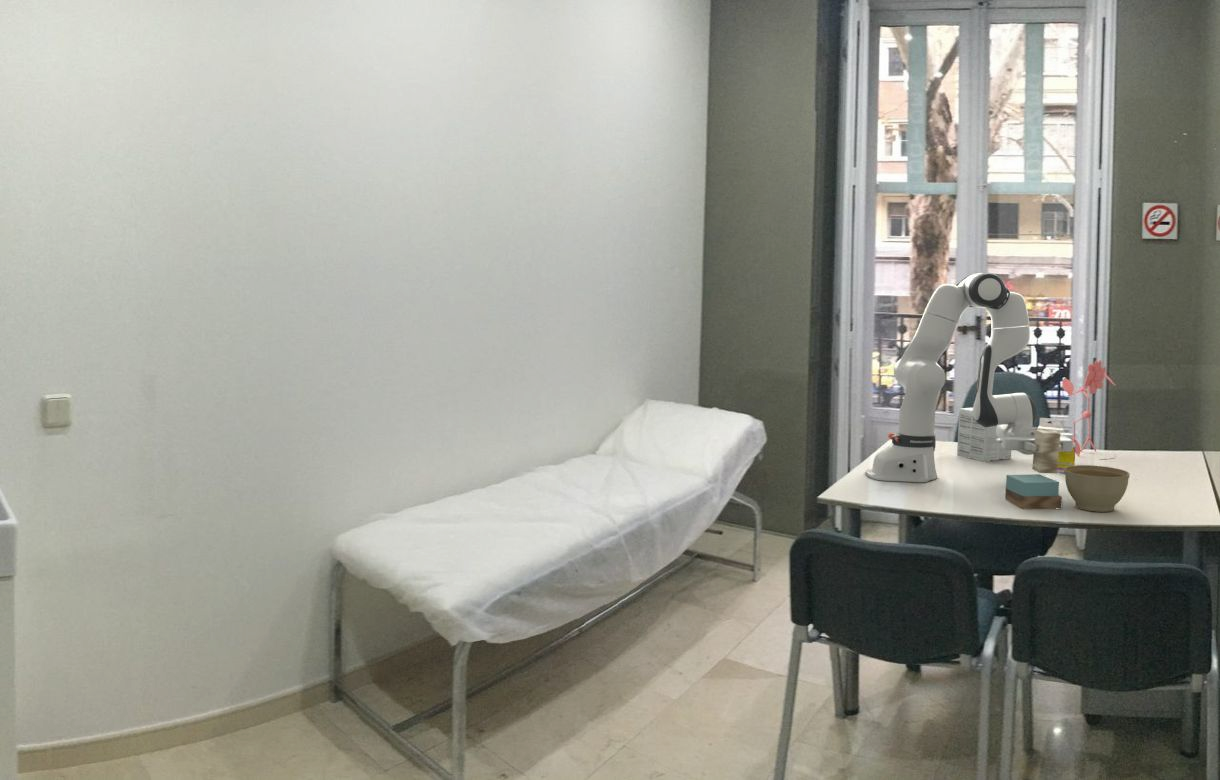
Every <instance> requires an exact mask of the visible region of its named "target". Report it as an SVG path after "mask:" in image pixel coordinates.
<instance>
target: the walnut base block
mask: <svg viewBox="0 0 1220 780" xmlns="http://www.w3.org/2000/svg"><path fill="white" fill-rule="evenodd" d="M1004 498H1005V499H1006V500H1005V501H1007V502H1009V503H1010V504H1012V505H1014V506H1016V507H1017V508H1019V509H1020V510H1057V509H1056V508H1061V509H1062V500H1063V497H1062V496H1060V495H1059V494H1058V496H1031V497H1024V496H1022V495H1019V494H1017V493H1015V492H1013V491H1011V490H1008V489H1006V488H1005V496H1004Z"/></svg>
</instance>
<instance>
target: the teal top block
mask: <svg viewBox="0 0 1220 780" xmlns="http://www.w3.org/2000/svg"><path fill="white" fill-rule="evenodd" d="M1005 477H1006V479H1005V482H1006V483H1005V490H1006V489H1008V490H1011V491H1013V492H1015V493H1017V494H1019V495H1022V496H1024V497H1031V496H1058V495H1059V490H1060V489H1059V488H1060V481H1057V480H1055V479H1053V478H1049V477H1047V476H1045V475H1042V474H1041V473H1038V474H1037V473H1035V474H1033V473H1032V474H1006V475H1005Z"/></svg>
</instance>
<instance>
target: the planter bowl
mask: <svg viewBox="0 0 1220 780" xmlns="http://www.w3.org/2000/svg"><path fill="white" fill-rule="evenodd" d="M1064 472H1065V473H1064V479H1065V485H1066V488H1067V491H1068V493H1069V495H1070V497H1071V498H1072V500H1073V501H1074V502H1075V507H1076V508H1077V509H1080V510H1084V511H1089V512H1097V513H1099V512H1101V513H1102V512H1103V513H1104V512H1105V513H1107V512H1108V513H1109V512H1113V511H1115V508H1116V505H1117V504H1118V503H1119V502H1120V501H1121V500H1122V498H1123V497H1124V496H1125V493H1126V490H1127V488H1128V484H1129V479H1130V476H1131V475H1130V472H1129V471H1127V470H1125V469H1120V468H1116V467H1111V466H1103V465H1102V466H1101V465H1092V464H1091V465H1089V464H1088V465H1087V464H1081V465H1079V464H1076V465H1074V466H1068V467H1066V468H1065V469H1064Z"/></svg>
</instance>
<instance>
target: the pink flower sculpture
mask: <svg viewBox="0 0 1220 780" xmlns="http://www.w3.org/2000/svg"><path fill="white" fill-rule="evenodd" d="M1102 364H1103V363H1102V360H1101V359H1100V360H1099V359H1098V360H1095V361H1094V363H1090V364H1088V366H1087V371H1088V373H1087V374H1086V379H1085V381H1084V384H1083V387H1082V388H1081V389H1079V390H1077V391H1075V392H1074V385H1073V382H1072V381H1071V380H1069V379H1068V378H1066V377H1064V378H1063V380H1062V381H1061V382H1062V383H1061V386H1062V389H1063V390H1064V391H1065V392H1066V393H1067V394H1068V395H1069V396H1073V395H1074V394H1078V393H1080V392H1082V393H1083V394H1084V395H1085V397H1086V398H1087V410H1085V411H1083V413H1082V416H1083V417H1081V418H1079V419H1077V420H1075V421H1074V422H1073V439H1072V440H1073V442H1074V443H1075V444H1076V448H1075V456H1077V457H1080V455H1081V452H1082V451H1083V450H1084V449H1085V447H1086V445H1087V444H1088V442H1089V443H1090V445H1091V447H1092V449H1093V451H1094V452H1095V453H1098V451H1097V450H1096V447H1095V446H1094V444H1093V442H1092V440H1091V417H1092V413H1091V411H1090V397H1089V395H1088V394H1090V395H1091V394H1094V395H1095V394H1097V392H1098V389H1099V390H1101V389H1103V388H1104V383H1103V381H1104V379H1105V378H1106V379H1107V381H1108V382H1110V383H1111V384H1112V385H1113V386H1114V387H1117V385H1116V384H1115V383H1114V382H1113V380H1112V378H1110V377H1109V376H1108V375H1107V374H1106V370H1107V369H1106V366H1103V365H1102ZM1086 388H1088V389H1086ZM1086 392H1089V393H1088V394H1087V393H1086ZM1083 419H1088V436H1086V441H1085V443H1084V444H1083V446H1082V447H1081V445H1080V443H1079V442H1078V440H1077V439H1076V423H1077V422H1079V421H1080V420H1083ZM1096 451H1097V452H1096ZM1113 455H1115V456H1116V454H1115V453H1113ZM1113 459H1114V457H1113V458H1110V460H1113ZM1101 460H1102V461H1103V460H1106V458H1104V459H1101V458H1099V461H1101Z"/></svg>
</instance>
